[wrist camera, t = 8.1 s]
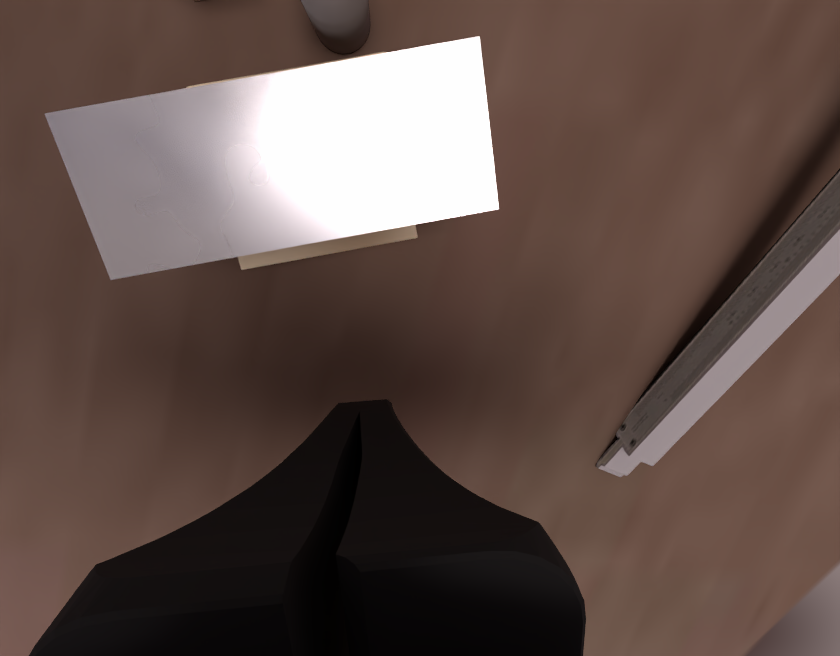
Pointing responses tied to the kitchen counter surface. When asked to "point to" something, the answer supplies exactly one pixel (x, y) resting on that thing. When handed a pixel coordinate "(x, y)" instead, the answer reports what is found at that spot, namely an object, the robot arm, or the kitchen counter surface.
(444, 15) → the kitchen counter surface
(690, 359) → the caliper
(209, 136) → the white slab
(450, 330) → the kitchen counter surface
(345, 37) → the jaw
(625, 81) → the kitchen counter surface
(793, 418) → the kitchen counter surface
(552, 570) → the robot arm
